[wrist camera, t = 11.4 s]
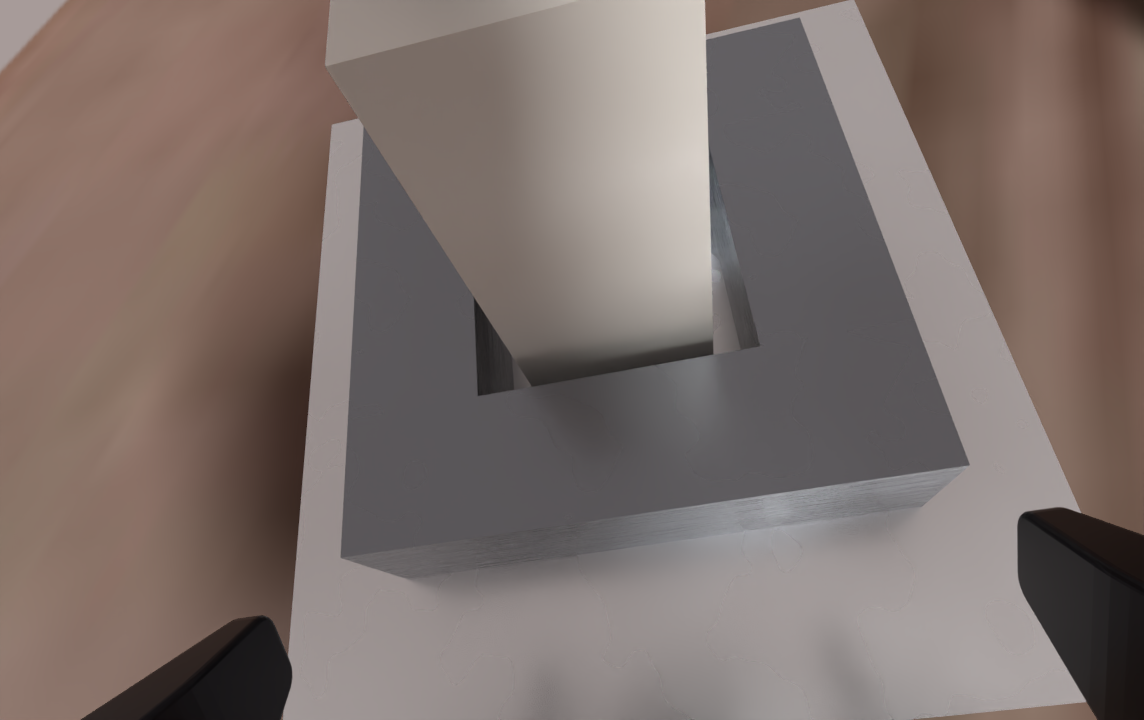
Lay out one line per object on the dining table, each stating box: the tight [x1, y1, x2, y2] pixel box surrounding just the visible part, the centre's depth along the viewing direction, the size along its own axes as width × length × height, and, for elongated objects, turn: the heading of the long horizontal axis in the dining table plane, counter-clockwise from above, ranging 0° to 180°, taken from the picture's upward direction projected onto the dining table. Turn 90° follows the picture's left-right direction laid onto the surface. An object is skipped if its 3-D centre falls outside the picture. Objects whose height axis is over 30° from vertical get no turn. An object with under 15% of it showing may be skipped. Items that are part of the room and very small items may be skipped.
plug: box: [325, 0, 714, 387], centre depth 13 cm, size 4×4×12 cm
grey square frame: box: [283, 0, 1086, 720], centre depth 17 cm, size 20×18×4 cm
